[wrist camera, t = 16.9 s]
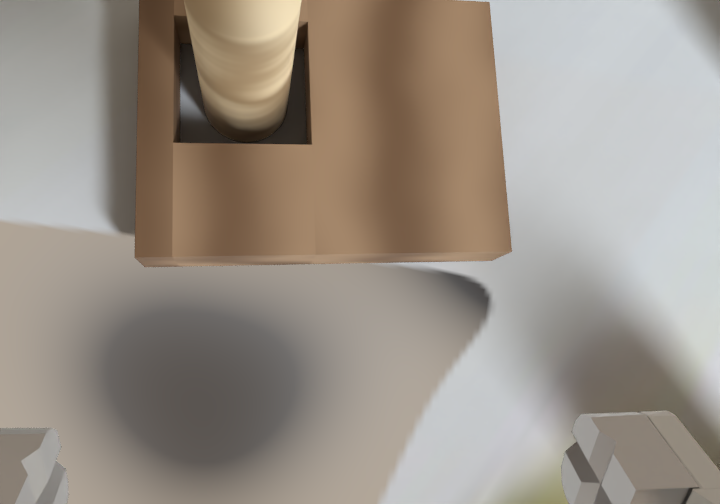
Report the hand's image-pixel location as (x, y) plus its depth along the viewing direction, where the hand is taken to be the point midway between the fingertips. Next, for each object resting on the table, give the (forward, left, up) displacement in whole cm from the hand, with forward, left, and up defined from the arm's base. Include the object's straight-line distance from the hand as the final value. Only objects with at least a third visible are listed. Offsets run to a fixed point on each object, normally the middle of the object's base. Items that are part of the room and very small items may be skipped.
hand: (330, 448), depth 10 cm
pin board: (-2, -12, -19) cm, 23 cm away
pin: (+1, -14, -19) cm, 24 cm away
